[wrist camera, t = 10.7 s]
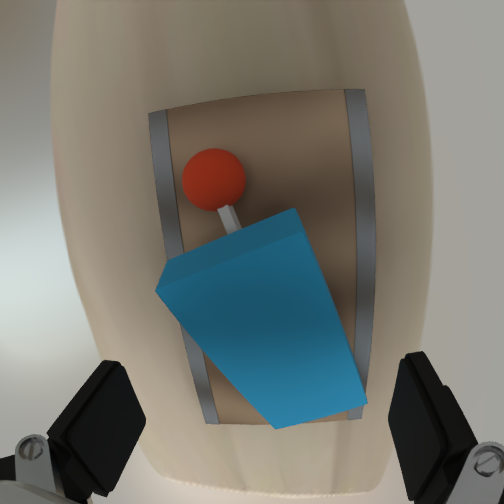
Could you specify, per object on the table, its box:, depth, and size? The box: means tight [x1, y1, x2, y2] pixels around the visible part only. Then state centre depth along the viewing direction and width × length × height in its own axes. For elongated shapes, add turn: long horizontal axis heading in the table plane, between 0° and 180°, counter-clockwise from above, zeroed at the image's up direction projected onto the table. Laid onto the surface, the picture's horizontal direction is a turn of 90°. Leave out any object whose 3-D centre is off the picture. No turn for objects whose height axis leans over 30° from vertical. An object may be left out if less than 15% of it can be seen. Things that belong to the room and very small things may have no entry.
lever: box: [155, 148, 368, 429], centre depth 18 cm, size 7×7×18 cm
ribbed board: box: [148, 89, 376, 425], centre depth 20 cm, size 24×13×1 cm, turn 6°
